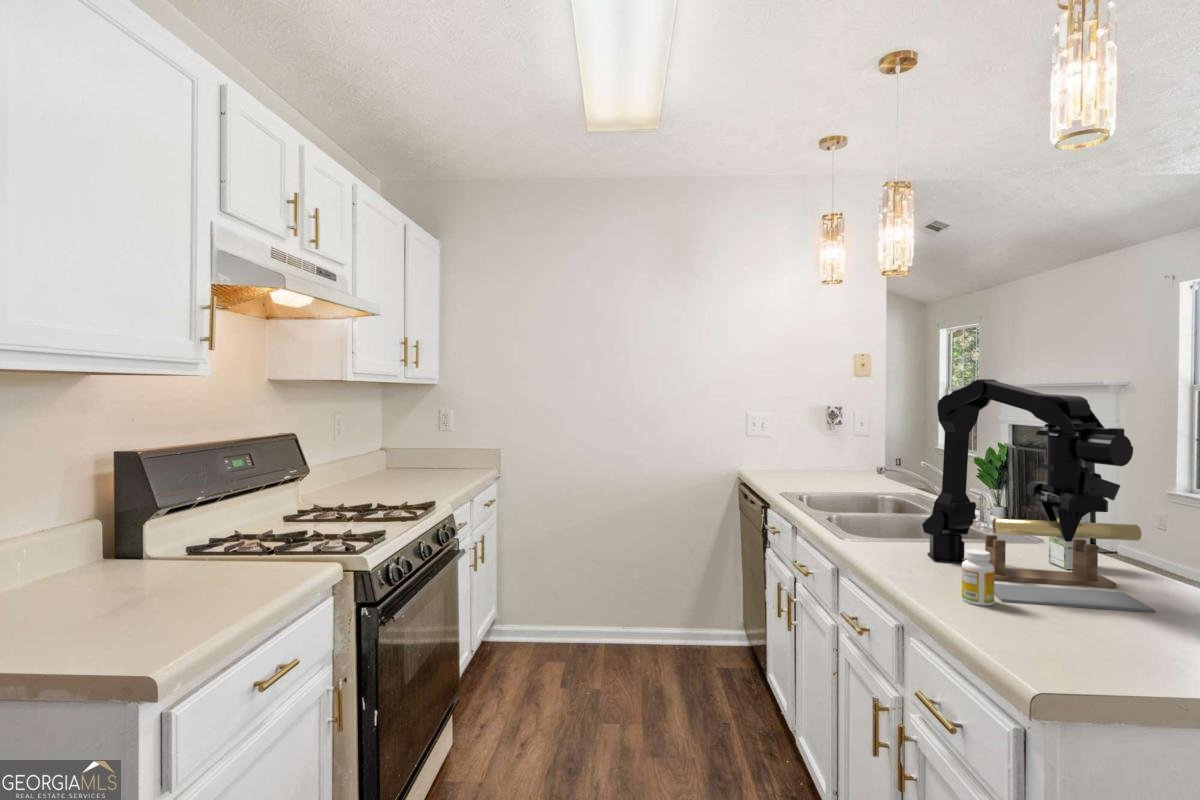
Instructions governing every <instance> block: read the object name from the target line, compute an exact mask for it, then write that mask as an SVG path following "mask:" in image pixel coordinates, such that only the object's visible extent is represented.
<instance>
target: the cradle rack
mask: <svg viewBox="0 0 1200 800" xmlns="http://www.w3.org/2000/svg"><path fill="white" fill-rule="evenodd" d="M984 535H985V539H984V541H985V543H984V544H985V545H984V546H985V548H984V551H987V552H989V553H990V561H989V563H990V564H992V565H993V566H994V581H999V580H1000V581H1001V582H1014V581H1021V582H1020V583H1029V582H1033V584H1048V585H1060V584H1062V585H1063V586H1076V585H1081V586H1080V587H1092V586H1097V587H1096V588H1107V587H1116V588H1117V582H1115V581H1113V580H1111V579H1109V578H1108V577H1105V576H1104V575H1102V574H1100V573H1098V569H1099V568H1098V565H1099V563H1098V560H1099V558H1098V557H1099V555H1098V554H1099V549H1098V548H1099V545H1096V544H1093V543H1092V544H1091V543H1090V544H1086V540H1084V539H1073V570H1072V571H1066V570H1065V571H1064V570H1063V571H1062V570H1047V569H1046V570H1045V569H1031V568H1029V569H1028V568H1012V567H1006V546H1007V545H1006V540H1004V539H998V535H996V534H984Z"/></svg>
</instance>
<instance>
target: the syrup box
mask: <svg viewBox="0 0 1200 800" xmlns="http://www.w3.org/2000/svg"><path fill="white" fill-rule="evenodd" d="M1080 522H1087V523H1091V512H1089V513H1088V514H1086V515H1084V516H1083V517H1082V519H1081V521H1080ZM1073 539H1084V540H1086V544H1091V538H1073ZM1073 539H1072V541H1071V542H1066V541H1064V539H1063V538H1058V537H1053V536H1048V563H1049V564H1052V565H1054V566H1057V567H1059V568H1062V569H1064V570H1067V569H1073Z"/></svg>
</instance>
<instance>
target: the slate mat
mask: <svg viewBox="0 0 1200 800" xmlns="http://www.w3.org/2000/svg"><path fill="white" fill-rule="evenodd" d="M994 597H996V598H997V599H998V600H999V601H1000V602H1002V603H1015V602H1016V603H1018V604H1029V603H1030V604H1032V605H1045V606H1057V607H1058V606H1059V607H1060V606H1061V607H1071V606H1073V608H1074V607H1076V608H1085V607H1088V608H1089V609H1101V610H1114V611H1115V610H1116V611H1130V612H1141V613H1142V612H1144V613H1156V611H1157V610H1156V609H1155V608H1153V607H1151V606H1150V605H1148V604H1145V603H1144V602H1142V601H1140V600H1138V599H1137V598H1135V597H1133V596H1131V595H1129V594H1128V593H1126V592H1124V591H1109V590H1107V591H1106V590H1093V589H1079V588H1063V587H1047V586H1031V585H1018V584H1017V585H1015V584H1002V583H1001V584H1000V583H994ZM1030 604H1029V605H1030ZM1088 608H1087V609H1088Z"/></svg>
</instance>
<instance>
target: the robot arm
mask: <svg viewBox="0 0 1200 800" xmlns="http://www.w3.org/2000/svg"><path fill="white" fill-rule="evenodd" d="M991 401H994V402H998V403H1001V404H1004V405H1007V406H1010V407H1014V408H1017V409H1020V410H1023V411H1026V412H1028V413H1031V414H1032V415H1033V416H1034V417H1035V418H1036V419H1038V420H1040V421H1042V422H1044V423H1045V424H1044V426H1043V427H1042V428H1040V429H1039V430H1037V431H1036V432H1035V434H1036V436H1042V437H1043V436H1045V437H1046V463H1042V464H1041V465H1042V468H1041V469H1045V470H1046V481H1041V480H1040V481H1037V480H1036V481H1035V480H1032V481H1031V482H1029V483H1028V484H1027V485H1026V494H1027V495H1029V496H1031V497H1036V496H1037V495H1040V498H1037V499H1036V502H1037V503H1038V505H1039V507H1040V508H1041V510H1042V512H1043V514H1044V515H1045V519H1047V521H1057V522H1058V525H1059V528H1060V531H1061V534H1062V536H1063V537H1058V538H1063V539H1064V541H1066V542H1071V541H1072V539H1073V537H1074V535H1075V532H1076V530H1077V527H1078V525H1079V523H1080V521H1081V519H1082V517H1083V516H1084V515H1086V514H1088V513H1089V512H1090V513H1094V512H1096V513H1108V512H1109V501H1108V500H1111V501H1115V499H1116V497H1117V495H1118V492H1119V490H1120V489H1121V486H1122V485H1121V484H1118V483H1115V482H1112V481H1109V480H1106V479H1103V478H1102V474H1100V473H1097V472H1094V471H1091V469H1090V468H1089V467H1088V466H1085V465H1084V462H1085V463H1088V464H1096V465H1106V466H1115V467H1123V466H1126V465H1128V464H1129V463H1130V462H1131V460H1132V458H1133V454H1134V446H1132V443H1131V440H1130V439H1129V438H1128V436H1126V435H1125V429H1124V428H1121V427H1120V428H1117V427H1116V428H1112V427H1111V428H1110V427H1109V428H1105V426H1104V425H1103V424H1102V422H1101V421H1100V420H1099V419H1098V418H1097V415H1096V414H1095V413H1094V412H1093V411H1092V409H1091V407H1090V404H1089V402H1088V399H1086V398H1085V397H1083V396H1079V395H1070V394H1069V395H1067V394H1056V393H1055V394H1053V393H1051V394H1049V393H1043V392H1038V391H1034V390H1031V389H1027V388H1023V387H1019V386H1015V385H1013V384H1008V383H1005V382H1000V381H998V380H995V379H993V378H992V379H991V378H989V379H988V378H987V379H984V378H981V379H980V378H979V379H976V380H974V381H972V382H971V383H969V384H968V385H965V386H963V387H961V388H959V389H956V390H954V391H952V392H951V393H949V394H945V395H943V396H942V397H941V398H940V399H939V400H938V401H937V406H936V407H937V416H938V417H937V418H938V419H937V420H938V423H939V424H940V425H941V428H942V429H943V431H944V443H943V444H944V446H943V461H942V462H943V464H942V465H943V466H942V481H941V483H942V484H941V485H942V486H941V491H940V493H939V495H938V496H937V498H936V499H935V501H934V502H933V508H932V513H931V515H929V517H927V518H926V519H925V521H924V522H923V523H921V525H922V530H923V533H924V534H927V535H929V552H927V556H928V557H929V558H930V559H931V560H933V562H938V563H939V562H941V563H955V564H956V563H957V564H958V563H959V564H962V563H963V562H964V561H965V560H964V559H965V542H964V540H963V536H962V535H968V533H969V530H970V528H971V526H973V524H974V520H977V517H976V509H977V504H976V502H975V501H971V500H970V498H969V496H968V495H967V482H968V480H967V479H968V465H969V464H968V461H969V459H968V458H969V444H970V443H969V441H970V433H971V431H972V430H973V428H974V427H975V425H976V424H977V422H978V419H979V415H980V411H981V410H983V409H984V408H985V407H988V406H989V404H990V402H991ZM1107 499H1108V500H1107Z"/></svg>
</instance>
